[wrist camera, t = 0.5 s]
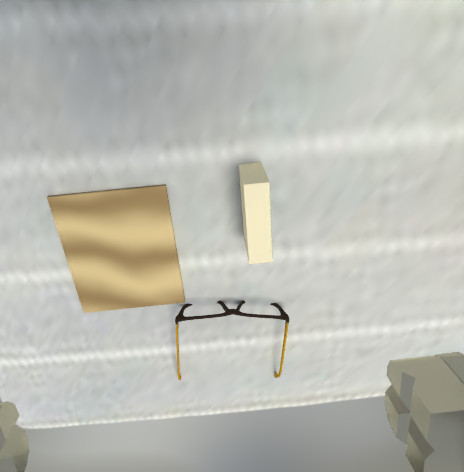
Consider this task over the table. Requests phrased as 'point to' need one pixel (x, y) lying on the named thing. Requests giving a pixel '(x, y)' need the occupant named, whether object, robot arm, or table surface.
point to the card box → (256, 212)
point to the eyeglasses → (236, 312)
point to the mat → (120, 247)
